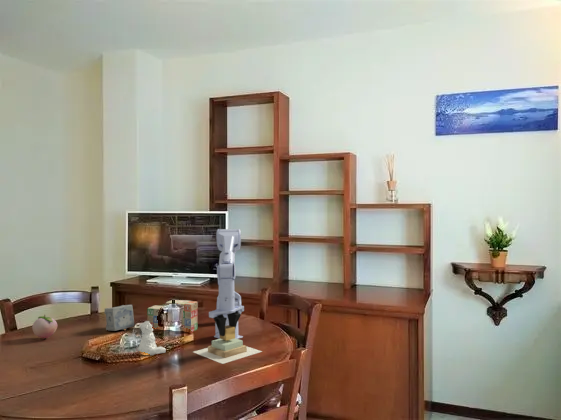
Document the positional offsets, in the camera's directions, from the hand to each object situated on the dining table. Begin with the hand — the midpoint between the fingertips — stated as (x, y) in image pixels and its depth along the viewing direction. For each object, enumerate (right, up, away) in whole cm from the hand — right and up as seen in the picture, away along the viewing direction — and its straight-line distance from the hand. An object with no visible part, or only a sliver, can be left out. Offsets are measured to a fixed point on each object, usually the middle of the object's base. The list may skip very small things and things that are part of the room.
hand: (227, 334), depth 169 cm
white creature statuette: (-28, -7, 0) cm, 29 cm away
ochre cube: (0, -2, 0) cm, 2 cm away
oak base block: (0, -6, 0) cm, 6 cm away
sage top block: (0, -4, 0) cm, 4 cm away
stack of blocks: (-27, -7, +33) cm, 44 cm away
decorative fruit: (-76, -8, +19) cm, 79 cm away
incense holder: (-51, -7, +33) cm, 61 cm away
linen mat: (0, -7, 0) cm, 7 cm away
